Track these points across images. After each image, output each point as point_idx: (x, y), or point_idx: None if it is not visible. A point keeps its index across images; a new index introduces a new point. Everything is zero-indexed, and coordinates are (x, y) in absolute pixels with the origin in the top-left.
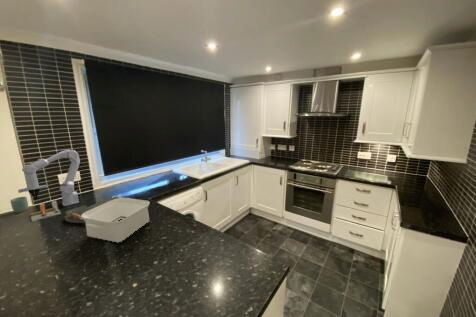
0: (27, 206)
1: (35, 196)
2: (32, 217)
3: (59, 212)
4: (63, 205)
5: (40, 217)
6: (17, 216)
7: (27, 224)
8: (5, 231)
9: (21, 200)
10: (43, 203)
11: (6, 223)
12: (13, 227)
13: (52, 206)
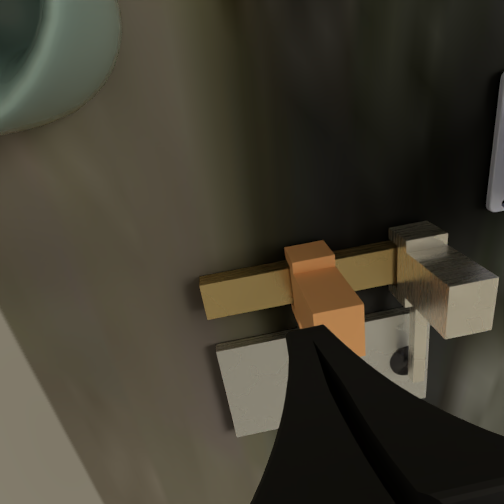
0: (119, 45)
1: (328, 385)
2: (232, 379)
3: (419, 385)
4: (490, 196)
5: None
6: (73, 225)
7: (215, 458)
8: (104, 495)
9: (12, 123)
10: (358, 311)
11: (42, 361)
12: (134, 461)
13: (404, 241)
